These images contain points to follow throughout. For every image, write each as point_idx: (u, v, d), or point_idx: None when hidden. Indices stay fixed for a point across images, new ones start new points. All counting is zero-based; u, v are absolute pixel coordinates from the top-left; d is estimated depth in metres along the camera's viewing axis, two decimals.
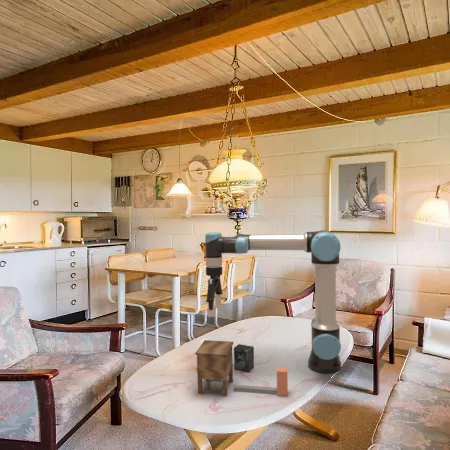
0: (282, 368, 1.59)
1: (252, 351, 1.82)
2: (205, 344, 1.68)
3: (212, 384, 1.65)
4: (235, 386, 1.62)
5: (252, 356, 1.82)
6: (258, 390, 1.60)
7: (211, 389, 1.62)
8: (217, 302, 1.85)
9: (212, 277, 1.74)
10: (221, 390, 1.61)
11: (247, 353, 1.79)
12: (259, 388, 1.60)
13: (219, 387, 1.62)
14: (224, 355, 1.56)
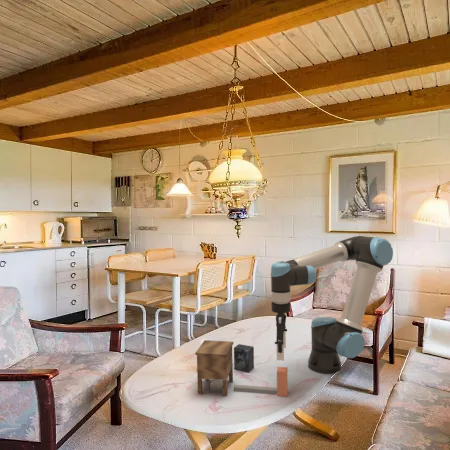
0: (282, 368, 1.59)
1: (252, 351, 1.82)
2: (205, 344, 1.68)
3: (212, 384, 1.65)
4: (235, 386, 1.62)
5: (252, 356, 1.82)
6: (258, 390, 1.60)
7: (211, 389, 1.62)
8: None
9: (280, 315, 1.54)
10: (221, 390, 1.61)
11: (247, 353, 1.79)
12: (259, 388, 1.60)
13: (219, 387, 1.62)
14: (224, 355, 1.56)
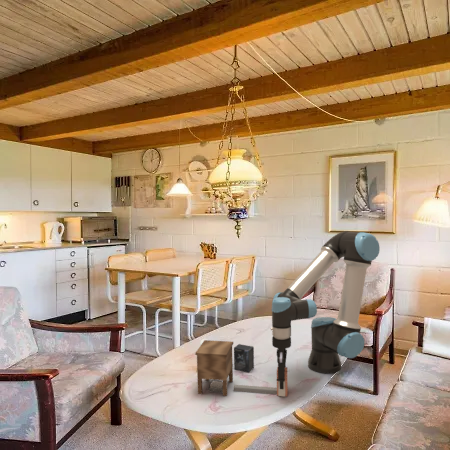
0: None
1: (252, 351, 1.82)
2: (205, 344, 1.68)
3: (212, 384, 1.65)
4: (235, 386, 1.62)
5: (252, 356, 1.82)
6: (258, 390, 1.60)
7: (211, 389, 1.62)
8: None
9: (281, 350, 1.54)
10: (221, 390, 1.61)
11: (247, 353, 1.79)
12: (259, 388, 1.60)
13: (219, 387, 1.62)
14: (224, 355, 1.56)
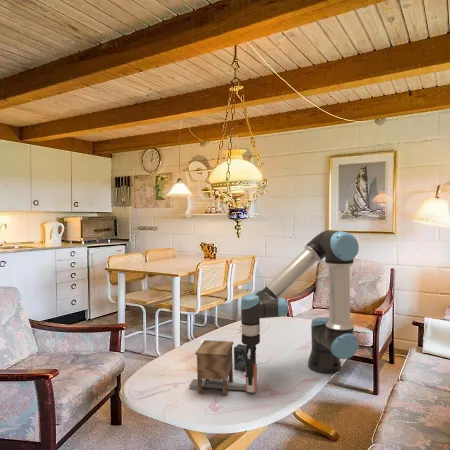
0: None
1: None
2: (205, 344, 1.68)
3: (193, 382, 1.67)
4: (206, 382, 1.65)
5: None
6: (228, 386, 1.62)
7: (191, 387, 1.64)
8: None
9: (249, 347, 1.57)
10: None
11: None
12: (229, 384, 1.63)
13: None
14: (224, 355, 1.56)
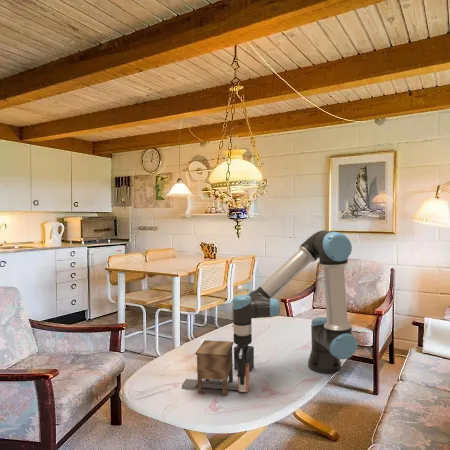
0: None
1: (252, 351, 1.82)
2: (205, 344, 1.68)
3: (185, 382, 1.67)
4: None
5: (252, 356, 1.82)
6: (220, 386, 1.63)
7: (184, 387, 1.64)
8: None
9: (241, 347, 1.57)
10: (193, 388, 1.64)
11: None
12: (221, 384, 1.63)
13: (191, 385, 1.65)
14: (224, 355, 1.56)
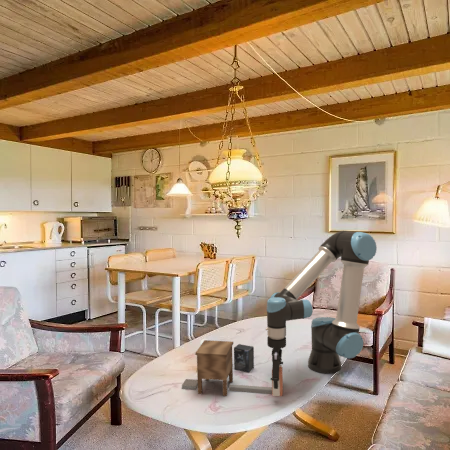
0: None
1: (252, 351, 1.82)
2: (205, 344, 1.68)
3: (185, 382, 1.67)
4: (230, 386, 1.63)
5: (252, 356, 1.82)
6: (253, 390, 1.60)
7: (184, 387, 1.64)
8: None
9: (276, 350, 1.55)
10: (193, 388, 1.64)
11: (247, 353, 1.79)
12: (254, 388, 1.61)
13: (191, 384, 1.65)
14: (224, 355, 1.56)
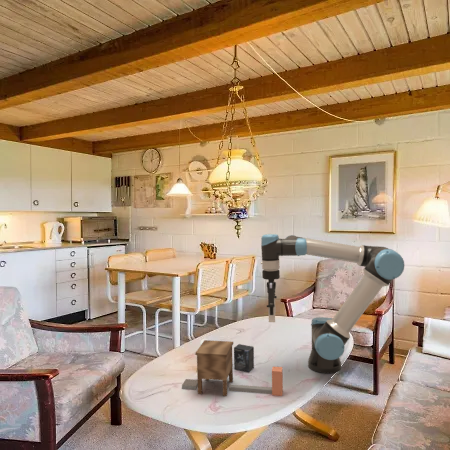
0: (277, 367, 1.60)
1: (252, 351, 1.82)
2: (205, 344, 1.68)
3: (185, 382, 1.67)
4: (230, 386, 1.63)
5: (252, 356, 1.82)
6: (253, 390, 1.60)
7: (184, 387, 1.64)
8: None
9: (271, 281, 1.67)
10: (193, 388, 1.64)
11: (247, 353, 1.79)
12: (254, 388, 1.61)
13: (192, 384, 1.65)
14: (224, 355, 1.56)
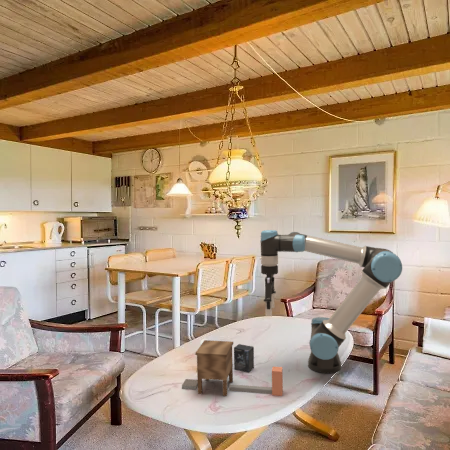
0: (277, 367, 1.60)
1: (252, 351, 1.82)
2: (205, 344, 1.68)
3: (185, 382, 1.67)
4: (230, 386, 1.63)
5: (252, 356, 1.82)
6: (253, 390, 1.60)
7: (184, 387, 1.64)
8: None
9: (269, 276, 1.71)
10: (194, 388, 1.64)
11: (247, 353, 1.79)
12: (254, 388, 1.61)
13: (192, 385, 1.65)
14: (224, 355, 1.56)
